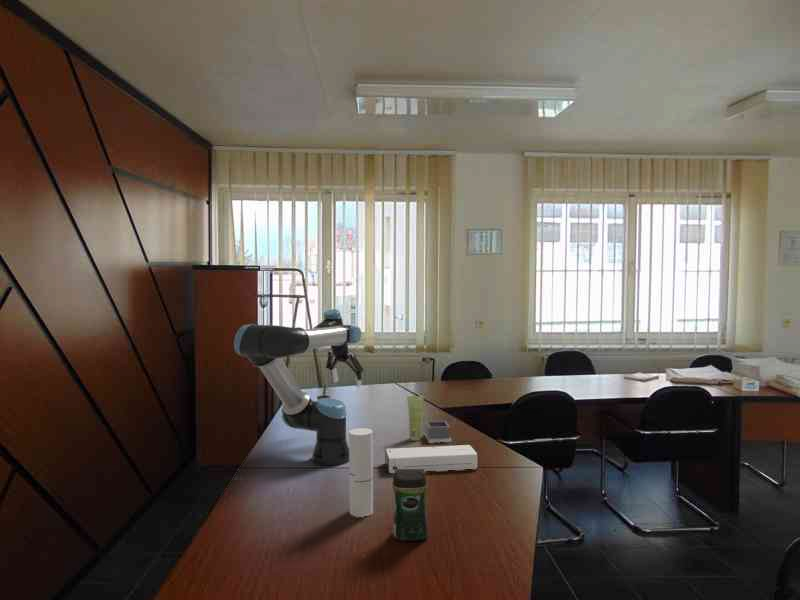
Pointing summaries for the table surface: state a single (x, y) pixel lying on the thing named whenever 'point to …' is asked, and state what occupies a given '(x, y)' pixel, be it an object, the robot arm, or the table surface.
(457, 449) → the laminator
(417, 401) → the tube
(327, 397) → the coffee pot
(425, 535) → the coffee jar
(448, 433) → the grey and white box
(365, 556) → the table surface
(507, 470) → the table surface
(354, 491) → the cylindrical container
